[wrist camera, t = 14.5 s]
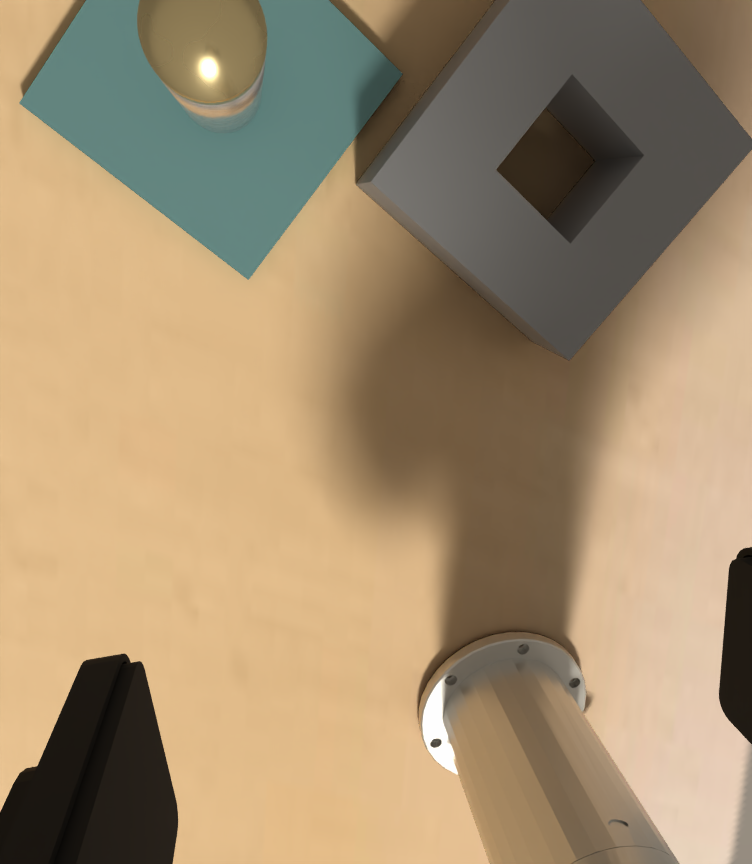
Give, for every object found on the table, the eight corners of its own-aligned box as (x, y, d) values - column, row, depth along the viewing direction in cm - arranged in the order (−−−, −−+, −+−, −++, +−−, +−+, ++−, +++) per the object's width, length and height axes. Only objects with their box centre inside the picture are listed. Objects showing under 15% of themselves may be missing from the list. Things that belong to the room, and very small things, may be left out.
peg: (254, 38, 32) (257, -47, 20) (267, 129, 33) (275, 96, 22) (169, 44, 31) (124, -41, 20) (185, 136, 32) (151, 106, 21)
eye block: (694, 151, 38) (755, 144, 33) (532, 341, 40) (569, 360, 35) (528, -44, 33) (573, -84, 28) (355, 184, 35) (370, 181, 31)
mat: (399, 76, 34) (402, 73, 33) (248, 278, 36) (248, 279, 35) (183, -138, 30) (181, -147, 29) (24, 105, 32) (19, 103, 31)
